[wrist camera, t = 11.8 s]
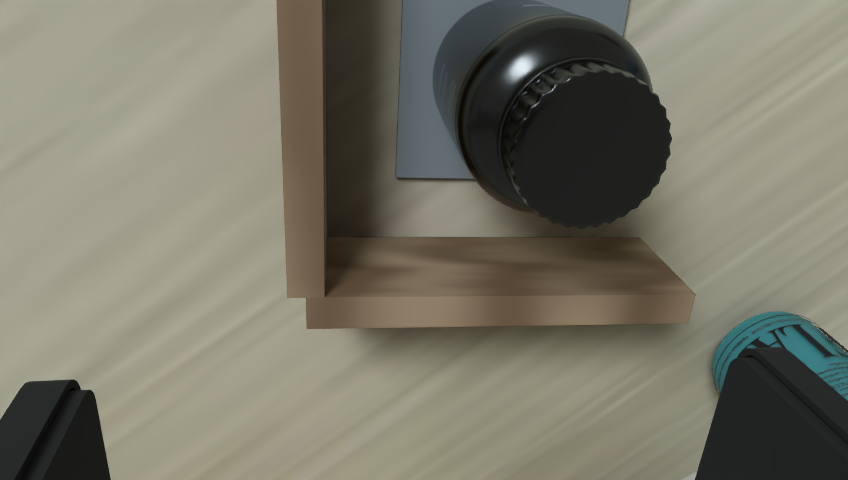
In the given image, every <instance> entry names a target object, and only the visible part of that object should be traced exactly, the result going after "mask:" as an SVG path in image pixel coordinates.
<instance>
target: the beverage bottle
mask: <svg viewBox="0 0 848 480" xmlns="http://www.w3.org/2000/svg"><path fill="white" fill-rule="evenodd" d="M802 317H803V316H802ZM805 318H806V317H805ZM813 322H814V321H813ZM811 323H812V322H809V320H806V319H804V318H801V317H799V315H794V314H791V313H787V312H767V313H763V314H760V315H757V316H754V317H752V318H750V319H748V320H746V321H744V322H743V323H741V324H740V325H738V326H737V327H735V328H734V329H733V330H732V331H731V332H730V333H729V334H728V335H727V336H726V337H725V338H724V340H723V341H722V342H721V344H720V345H719V347H718V349H717V351H716V353H715V356H714V359H713V364H712V373H713V377H714V382H715V383H716V386H717V388H718V390H719V391H720V393H721V390H722V386H723V383H724V380H725V376H726V373H727V369H728V366H729V364H730V362H731V361H732V360H733V359H736V358H737V357H738V354H739V353H740V352H741V351H742V350H744V349H747V348H764V347H782V348H785V349H787V350H789V351H790V352H791V353H792V354H794V355H795V356H796V357H797V358H798V359H799V360H801V361H802V362H803V363H804V364H805V365H806V366H808V367H809V368H810V369H811V370H812V371H814V372H815V373H816V374H817V375H818V376H819V377H821V378H822V379H823V380H824V381H825V382H826V383H828V384H829V385H830V386H831V387H832V388H833V389H835V390H836V391H837V392H838V393H839V394H840V395H842V396H843V397H844V398H845V399H846V400H847V401H848V354H847V353H848V350H846V348H845V347H843V346H842V345H840V343H839V342H837V341H836V340H834V338H833V337H831V336H830V335H828V333H827V332H825V331H824V330H823V329H822V328H821V327H820V328H819V329H820V330H821V331H822V332H823V333H825V334H826V335H827V336H828V337H827V336H826V335H825V334H823V333H822V332H821V331H820V330H819V329H817V328H818V327H817V328H816V326H814V325H813V324H814V323H813V324H811ZM830 338H831V340H830ZM834 342H835V343H837V344H838V345H839V346H838V345H837V344H835V343H834ZM840 347H841V348H842V349H841V348H840ZM843 349H844V350H845V351H844V350H843ZM846 352H847V353H846ZM716 386H715V387H716ZM717 393H718V392H717ZM718 395H719V394H718Z"/></svg>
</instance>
